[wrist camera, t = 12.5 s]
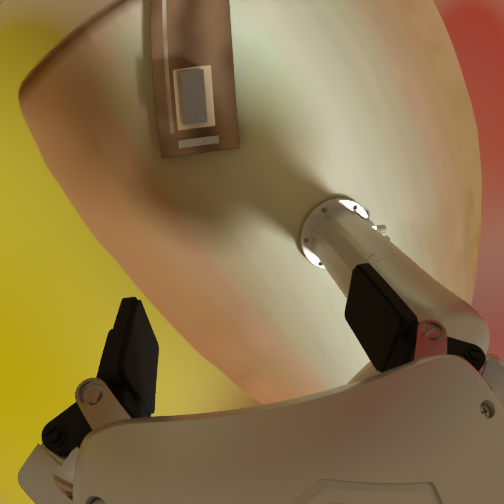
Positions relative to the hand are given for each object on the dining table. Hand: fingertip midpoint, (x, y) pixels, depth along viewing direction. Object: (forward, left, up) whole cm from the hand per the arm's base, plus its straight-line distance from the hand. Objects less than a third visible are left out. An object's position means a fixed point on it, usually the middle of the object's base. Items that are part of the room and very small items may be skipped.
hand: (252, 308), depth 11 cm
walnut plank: (+2, -18, -28) cm, 34 cm away
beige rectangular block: (+2, -10, -26) cm, 28 cm away
